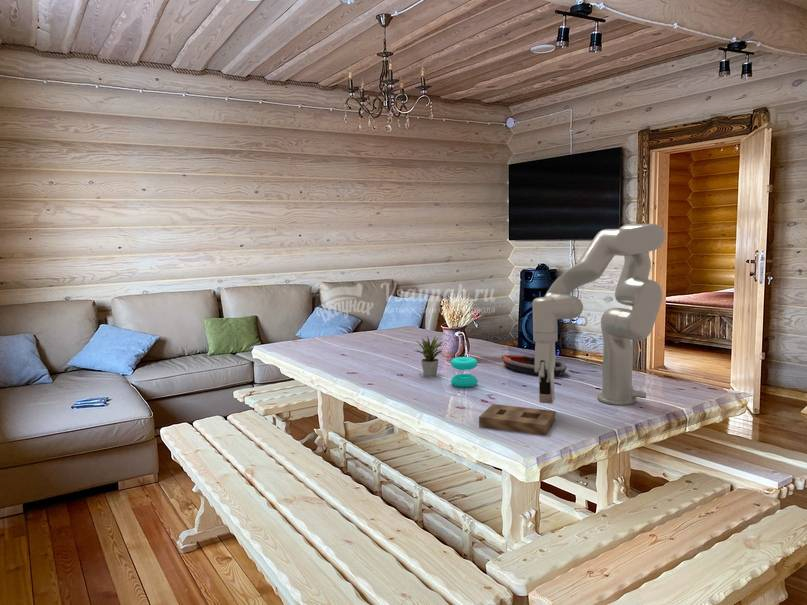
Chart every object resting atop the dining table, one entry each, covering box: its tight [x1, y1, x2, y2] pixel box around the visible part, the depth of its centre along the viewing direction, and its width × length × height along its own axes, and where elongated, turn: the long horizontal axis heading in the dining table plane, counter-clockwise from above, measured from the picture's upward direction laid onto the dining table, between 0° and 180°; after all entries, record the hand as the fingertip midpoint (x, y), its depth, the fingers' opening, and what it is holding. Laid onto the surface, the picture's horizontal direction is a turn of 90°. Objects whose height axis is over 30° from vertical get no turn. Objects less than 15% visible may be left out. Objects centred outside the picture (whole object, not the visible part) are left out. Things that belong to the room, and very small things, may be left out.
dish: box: [501, 354, 567, 377], centre depth 248 cm, size 16×31×5 cm, turn 40°
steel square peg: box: [538, 368, 556, 404], centre depth 193 cm, size 4×4×11 cm
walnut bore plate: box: [478, 403, 556, 436], centre depth 183 cm, size 20×14×3 cm
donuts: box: [450, 356, 478, 388], centre depth 228 cm, size 10×10×10 cm
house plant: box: [413, 335, 447, 377], centre depth 242 cm, size 14×14×16 cm
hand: (546, 391), depth 193 cm, fingers closed on steel square peg, 4 cm apart
